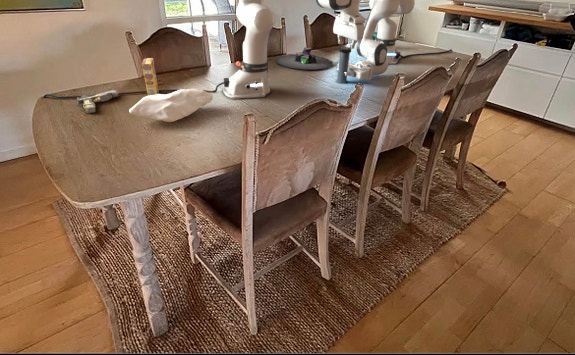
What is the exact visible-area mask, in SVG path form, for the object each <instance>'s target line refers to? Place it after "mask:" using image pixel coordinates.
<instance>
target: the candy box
mask: <svg viewBox="0 0 575 355" xmlns="http://www.w3.org/2000/svg"><path fill="white" fill-rule="evenodd" d="M141 66H142V73H143V78H144V82H145V87H146V91H147V93H146V94H147V96H150V95H156V94H159V93H160V92H159V91H158V90H159V84H158V79H157V73H156V66H155V62H154V58H153V57H151V58H150V57H149V58H146V57H145V58H143V60H142V63H141Z"/></svg>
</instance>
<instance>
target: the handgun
mask: <svg viewBox="0 0 575 355" xmlns="http://www.w3.org/2000/svg"><path fill="white" fill-rule="evenodd" d="M118 93H119V92H118V91H117V90H116V89H112V90H108V91H105V92H104V91H103V92H101V93H96V94H92V95H93V96H86V95H87V94H85V95H84V94H83V95H80V96H81V98H76V101H77V104H78V105H82V108H83V109H84V110H85V113H87V114H91V113H95V112H96V104H95V103H98V102H106V101H109V100H111V99H113V98H117V97H119V96H120V95H119V94H118Z"/></svg>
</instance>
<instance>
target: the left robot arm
mask: <svg viewBox="0 0 575 355" xmlns="http://www.w3.org/2000/svg"><path fill="white" fill-rule="evenodd" d="M315 2H316V4H317V5H318V6H319V7H320V8H323V9H328V10H332V11H336V12H337V11H340V13H338V14H337V15H336V16H335V19H334V22H333V28H332V30H333V31H332V32H333V34H335V35H337V40H338V45H341V46H342V45H343V44H344V40H343V37H344V38H347V39H350V40H351V44H349V48H351V50H354V49H355V46H356V45H357V43H358V42H359V41H360V40H362V39H363V36H364V27H365V24H366V17H364V16H363V15H362V14H361V13H360V4H361V0H315ZM235 15H236V18H237V20H238V21H239V23H240V24H241V25H242V26H244V27H245V28H246V31H245V37H244V41H243V42H242V59H243V60H242V61H236V62H235V65H236V66H237V67H239V69H237V71H236V72H235V73H234V74H232V75H231V76H230V77H224V78H223V82H220V83H218V84H217V85H216V87H215V89H214V90H205V89H203V90H204V91H206V92H208V93H216V92H217V91H218V89H219V87H220V86H222V85H223V86H224V88H223V91H222V92H223V94H224V95H225V96H226V97H228V98H230V99H233V100H236V99H237V100H238V99H239V100H240V99H253V98H254V99H255V98H264V97H266V95H268V94H269V93H270V92H271V88H270V84H269V78H268V76H269V75H268V72H269V61H268V43H269V37H270V33H271V30H272V29H273V28H274V25H275V15H274V13H273V11H272V10H271V9H270V8H269V7H267V6H266V5H264V0H238V4H237V6H236V10H235ZM177 90H181V89H175V88H174V89H158V91H159V92H158V93H162V92H164V93H165V92H175V91H177ZM145 93H146V94H148V93H147V90H137V91H126V92H118V94H119V96H120V95H121V96H122V95H135V94H145ZM85 95H86V96H93V95H94V94H88V95H87V94H85ZM81 96H82V95H54V94H51V93H45V94H43V95H42V98H46V97H52V98H55V99H78V98H79V99H80V98H81Z"/></svg>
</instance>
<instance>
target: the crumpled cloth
mask: <svg viewBox="0 0 575 355" xmlns="http://www.w3.org/2000/svg"><path fill="white" fill-rule="evenodd" d="M204 90H205V89H201V88H187V89H186V88H183V89H181V90H177V91H172V92H171V93H167V94H163V93H158V94H156V95H150V96H148V95H146V96H144V97H142V98H141V99H140V100H139V101H138V102H137V103H136V104H134V105H133V106H132V107H131V108H129V114H130V115H135V116H140V117H145V118H146V119H149V120H152V121H155V120H158V121H163V122H166V123H174V122H176V121H178V120H181V119H183V118H185V117H188V116H190V115H192V114H193V113H195V112H196V111H197V110H199V109H200V108H202V107H204V106H206V105H207V104H210V102H211V101H212V100H213V99H214V98H213V97H214V96H213V94H212V93H211V92H206V91H207V90H206V91H204Z"/></svg>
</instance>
